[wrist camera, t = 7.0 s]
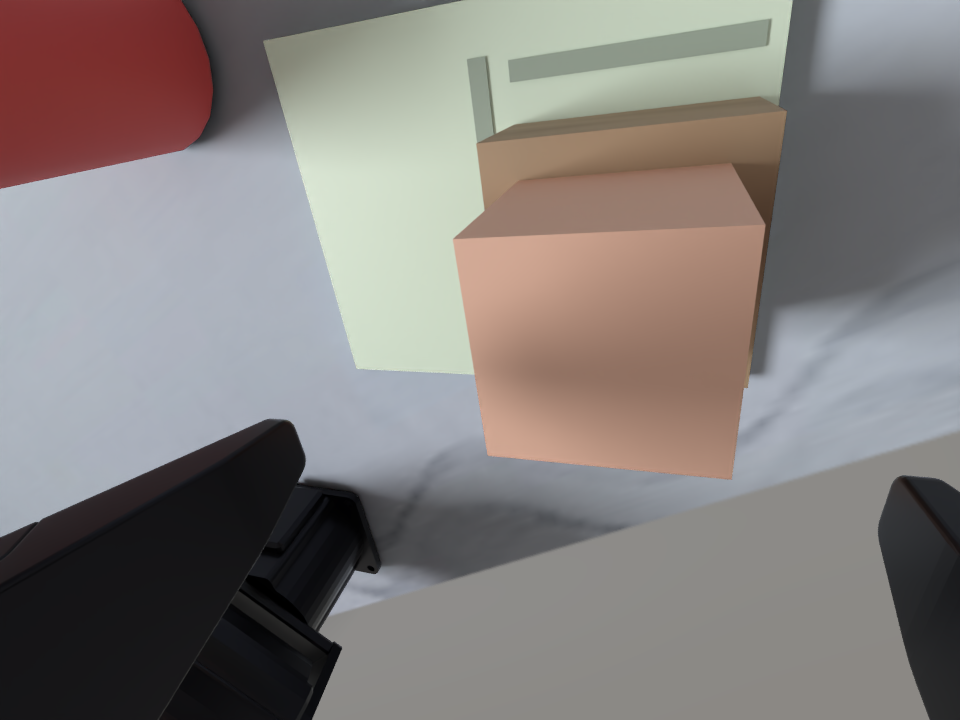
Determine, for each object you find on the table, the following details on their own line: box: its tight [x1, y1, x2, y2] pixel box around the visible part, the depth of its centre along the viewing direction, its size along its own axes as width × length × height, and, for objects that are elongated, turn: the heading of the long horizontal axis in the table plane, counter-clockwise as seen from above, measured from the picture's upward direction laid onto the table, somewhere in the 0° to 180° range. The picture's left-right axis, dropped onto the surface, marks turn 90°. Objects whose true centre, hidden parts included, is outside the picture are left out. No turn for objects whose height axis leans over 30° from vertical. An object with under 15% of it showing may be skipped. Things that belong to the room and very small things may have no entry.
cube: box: [453, 163, 765, 480], centre depth 12 cm, size 5×5×5 cm
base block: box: [476, 96, 787, 388], centre depth 15 cm, size 7×7×4 cm
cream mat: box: [263, 0, 793, 375], centre depth 18 cm, size 13×16×1 cm
